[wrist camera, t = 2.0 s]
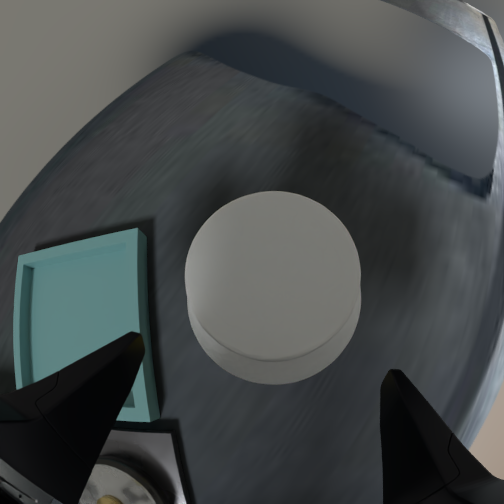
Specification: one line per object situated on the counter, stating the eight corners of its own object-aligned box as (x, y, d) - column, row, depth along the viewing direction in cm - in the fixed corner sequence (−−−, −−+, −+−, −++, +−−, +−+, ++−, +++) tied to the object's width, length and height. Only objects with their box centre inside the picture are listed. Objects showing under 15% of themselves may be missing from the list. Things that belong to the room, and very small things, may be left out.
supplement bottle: (233, 271, 21) (179, 156, 9) (326, 279, 20) (387, 171, 8) (220, 364, 19) (130, 373, 7) (318, 375, 18) (389, 403, 6)
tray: (160, 417, 17) (150, 422, 16) (31, 403, 18) (18, 404, 16) (146, 237, 22) (137, 227, 21) (30, 262, 23) (18, 255, 21)
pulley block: (205, 550, 13) (193, 574, 9) (101, 531, 13) (80, 547, 10) (175, 430, 17) (154, 443, 14) (68, 421, 17) (40, 426, 14)
